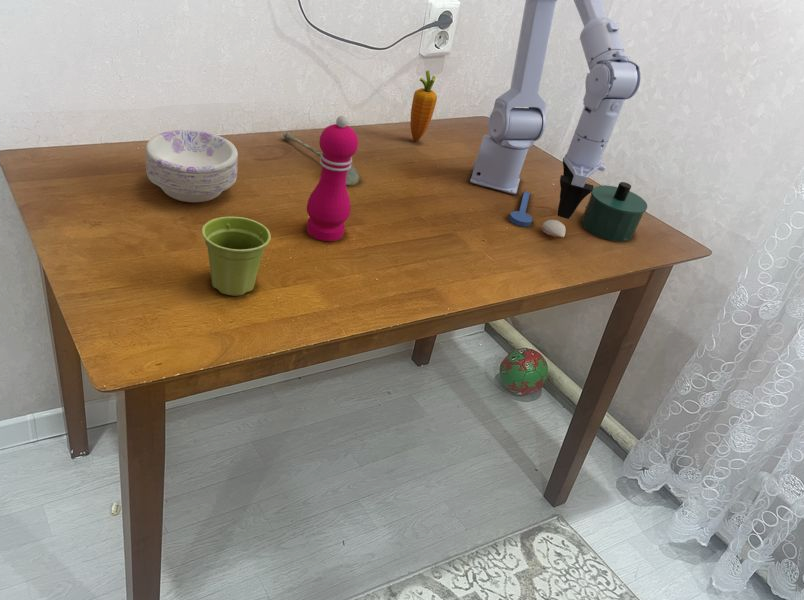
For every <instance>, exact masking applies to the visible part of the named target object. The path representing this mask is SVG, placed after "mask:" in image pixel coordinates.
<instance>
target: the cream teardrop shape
mask: <svg viewBox="0 0 804 600" xmlns="http://www.w3.org/2000/svg"><path fill="white" fill-rule="evenodd" d="M541 230H542V232H543V233H545V234H546V235H548V236H551V237H557V238H564V237H565V235H566V226H565V224H564V223H562V222H560V221H559V220H557V219H548V220H546V221H544V222H543V223H542V227H541Z"/></svg>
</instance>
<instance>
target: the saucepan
mask: <svg viewBox="0 0 804 600" xmlns="http://www.w3.org/2000/svg"><path fill="white" fill-rule="evenodd" d="M643 215H644V213H641V214H626V213H621V212H617V211H614V210H611V209H609V208H607V207H604V206H603V205H601V204H599V203H598V202H597V201H595V200H594V199H593V197H592V195H591V194H590V197H589V200H588V202H587V205H586V207H585V209H584V212H583V214H582V217H581V225H582V227H583V228H584V229H585V230H586V231H587V232H589V233H590V234H591V235H594V236H596V237H597V238H598V237H599V238H601V239H604V240H608V241H612V242H626V241H627V242H628V241H630V240H631V239H632V237H633V236H634V235H635V232H636V230H637V229H638V226H639V223H640V221H641V219H642V217H643Z"/></svg>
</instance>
